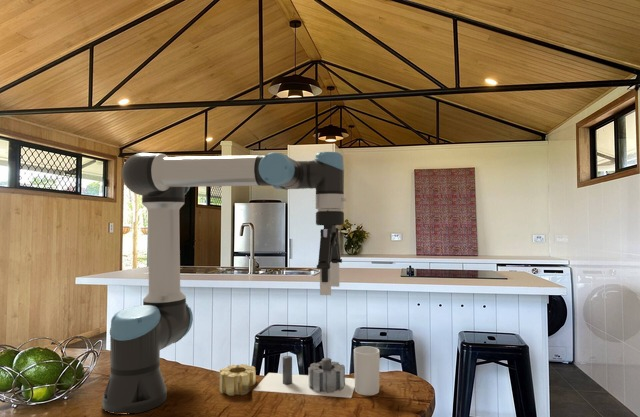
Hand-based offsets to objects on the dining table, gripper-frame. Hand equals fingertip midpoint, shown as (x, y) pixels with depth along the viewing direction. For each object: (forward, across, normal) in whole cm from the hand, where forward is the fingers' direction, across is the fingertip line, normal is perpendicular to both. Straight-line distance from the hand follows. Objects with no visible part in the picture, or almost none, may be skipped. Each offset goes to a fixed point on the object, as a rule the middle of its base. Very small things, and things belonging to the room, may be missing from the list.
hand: (330, 290), depth 114 cm
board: (+28, +2, +7) cm, 28 cm away
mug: (+28, +3, -10) cm, 29 cm away
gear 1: (+28, 0, +26) cm, 38 cm away
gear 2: (+26, +2, +2) cm, 26 cm away
